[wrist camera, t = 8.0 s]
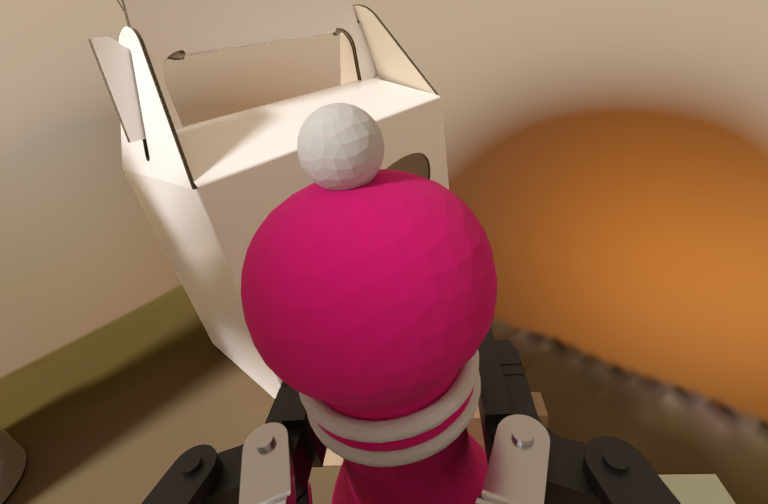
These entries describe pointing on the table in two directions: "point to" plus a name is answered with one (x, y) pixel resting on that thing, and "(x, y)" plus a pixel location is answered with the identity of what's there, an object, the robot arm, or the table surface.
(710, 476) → the sage pad
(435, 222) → the pepper mill
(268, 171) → the gable box
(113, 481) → the table surface
